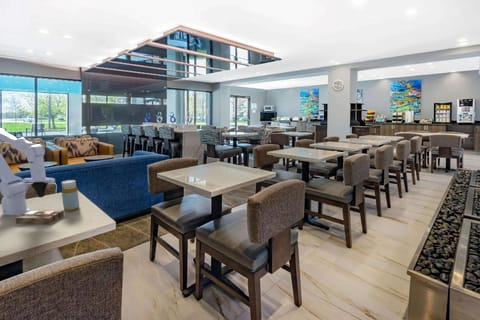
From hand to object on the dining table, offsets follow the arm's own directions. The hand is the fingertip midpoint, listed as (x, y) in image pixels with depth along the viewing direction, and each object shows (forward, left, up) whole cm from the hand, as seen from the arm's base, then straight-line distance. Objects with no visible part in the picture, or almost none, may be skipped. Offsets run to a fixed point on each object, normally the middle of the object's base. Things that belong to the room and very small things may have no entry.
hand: (41, 196), depth 138 cm
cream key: (-1, -6, -9) cm, 11 cm away
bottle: (+9, +8, -10) cm, 15 cm away
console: (+3, -6, -9) cm, 12 cm away
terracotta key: (+7, -6, -9) cm, 13 cm away
